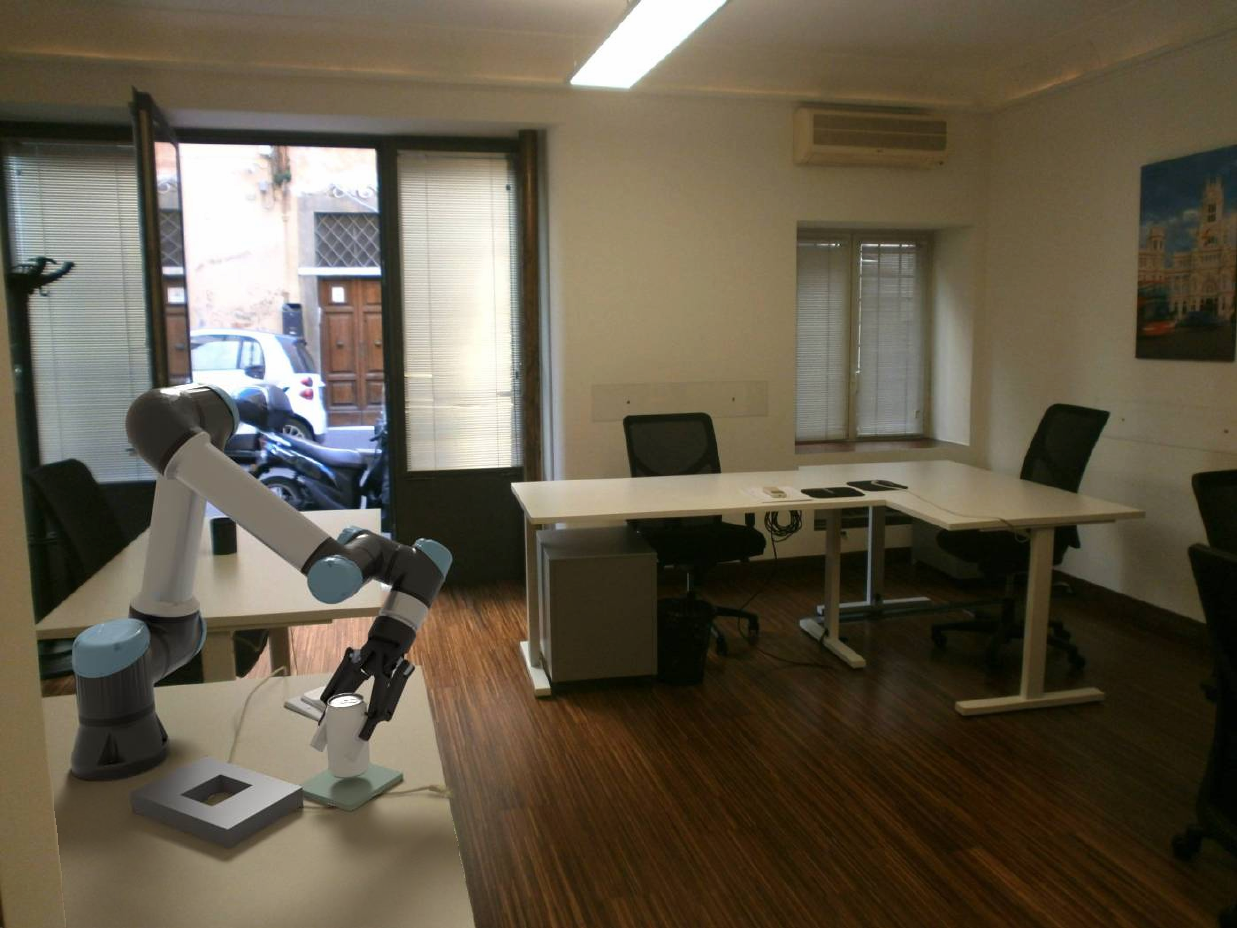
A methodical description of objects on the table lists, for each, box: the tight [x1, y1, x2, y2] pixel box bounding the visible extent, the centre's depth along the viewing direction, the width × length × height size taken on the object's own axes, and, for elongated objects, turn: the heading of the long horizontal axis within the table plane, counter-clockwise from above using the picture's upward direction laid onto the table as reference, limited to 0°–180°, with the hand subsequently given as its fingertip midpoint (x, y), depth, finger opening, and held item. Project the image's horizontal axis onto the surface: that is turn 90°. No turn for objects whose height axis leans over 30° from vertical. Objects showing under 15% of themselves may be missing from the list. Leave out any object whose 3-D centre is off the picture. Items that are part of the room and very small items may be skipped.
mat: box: [298, 762, 404, 813], centre depth 157 cm, size 12×12×1 cm
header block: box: [129, 756, 304, 849], centre depth 150 cm, size 22×14×3 cm, turn 61°
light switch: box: [283, 685, 369, 722], centre depth 189 cm, size 11×4×13 cm
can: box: [325, 692, 371, 778], centre depth 156 cm, size 6×6×12 cm
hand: (332, 753), depth 153 cm, fingers closed on can, 6 cm apart
